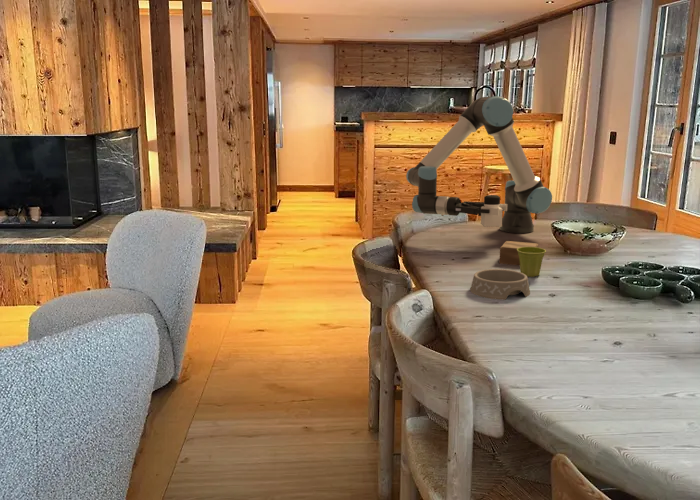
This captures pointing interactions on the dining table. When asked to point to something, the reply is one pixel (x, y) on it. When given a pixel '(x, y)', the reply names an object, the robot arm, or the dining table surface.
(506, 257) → the walnut box
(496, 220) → the medicine bottle
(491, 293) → the dog bowl
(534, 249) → the plant pot
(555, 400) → the dining table surface
